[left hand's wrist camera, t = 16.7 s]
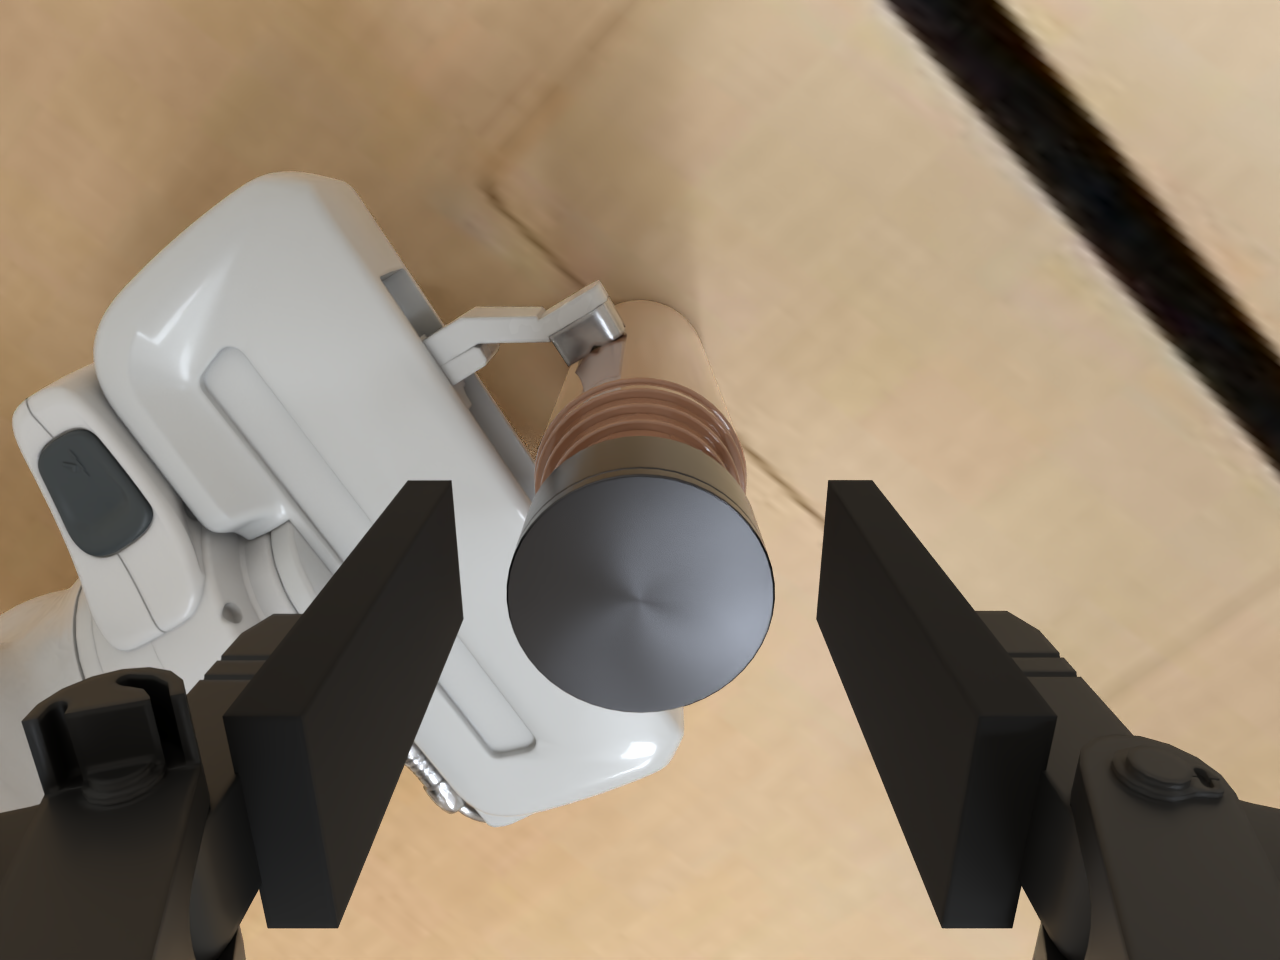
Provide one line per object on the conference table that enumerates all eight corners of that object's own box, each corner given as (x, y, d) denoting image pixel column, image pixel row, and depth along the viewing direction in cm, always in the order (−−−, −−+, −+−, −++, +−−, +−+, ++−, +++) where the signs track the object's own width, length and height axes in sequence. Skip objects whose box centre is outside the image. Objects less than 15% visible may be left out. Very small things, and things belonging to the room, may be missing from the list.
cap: (700, 676, 15) (708, 745, 14) (491, 603, 15) (470, 664, 13) (797, 486, 14) (821, 533, 12) (572, 398, 13) (560, 432, 12)
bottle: (554, 393, 29) (453, 642, 13) (610, 276, 28) (570, 398, 12) (668, 447, 30) (699, 745, 14) (727, 336, 29) (839, 527, 13)
